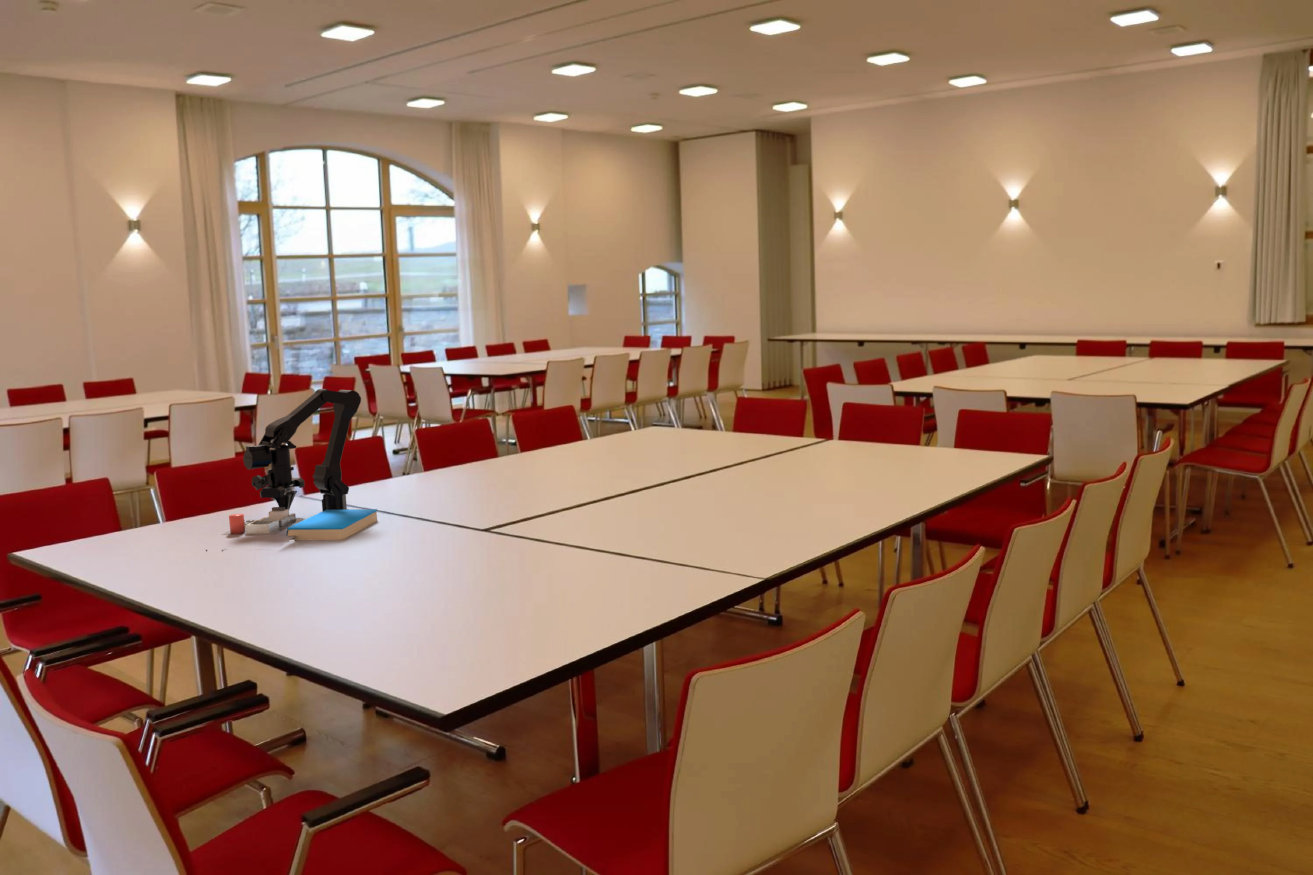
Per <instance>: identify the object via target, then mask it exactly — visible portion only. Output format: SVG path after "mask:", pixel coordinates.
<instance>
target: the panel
mask: <svg viewBox="0 0 1313 875" xmlns="http://www.w3.org/2000/svg"><path fill="white" fill-rule="evenodd" d="M301 521H303V518H297V517H296V513H295V512H294V513H289V515H288V516H286V517H284V518H282V519H280V520H269V514H268V515H266V516H265V517H262V518H260V519H247V520H245V521H244V523H245V532H243V533H238V534H231V533H230V530H229V531H226V532H225V533H222V534H221V536H234V535H235V536H236V535H237V536H238V535H241V536H242V535H276V534H278V533H280V532H282V531H284V530H285V529H287V528H288V527H291V526H293V525H295V524H297V523H299V522H301Z"/></svg>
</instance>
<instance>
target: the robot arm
mask: <svg viewBox="0 0 1313 875" xmlns="http://www.w3.org/2000/svg"><path fill="white" fill-rule="evenodd" d="M327 403H329V404H332V405H333V406H332V408H333V412H334V419H333V423H332V428H331V433H330V435H329V440H328V444H327V449H326V452H325V456H324V460H323V462H322V463H321V464H316V465H315V466H314V467H315V468H314V473H313V475H312V478H313V484H314V486H315V487H316V489H318V491H319V493H320V494H322V499H321V508H322V511H324V510H350V509H349V508H348V507H347V495H348V494H349V492H350V491H349V490H350V487H349V486H348V485H347V484H346V483H345V482H343V481H342V476H343V475H342V474H343V473H342V468H341V461H342V457H343V452H344V447H345V445H346V440H347V436H348V433H349V432H348V431H349V428H350V423H351V420H352V419H353V417H354V416H355V414H356V413H357V412H358V409H359V408H360V405H361V404H362V397H361V395H360V394H359V392H357V391H355V390H353V389H352V390H349V389H347V390H346V389H339V390H338V391H335V390H329V389H326V388H318V389H316V390H315V391H314V393H313V394H312V395H310V396H309V397H308V398H307V399H306V400H304V401H303V402H302V403H300V404H299V405H298V406H297V407H296V408H295V409H293V410H292V411H291V412H290V413H288V414H287V415H285V416H283V417H281V418H277V419H276V420H274V421H273V422H271V423H269V424H268V425H266V427H265V429H264V431H265V433H264V434H263V436H262V438H261V440H260V442H259V443H258V444H257V445H247V446H245V451H244V453H243V456H242V461H243V464H244V467H245V468H246V469H247V470H254V469H260V468H267V467H269V466H270V468H269V469H268V470H267V474H266V475H264V476H263V475H262V476H261V475H259V474H258V475H255V476H252V477H251V486H252V487H254V488H255V490H256V491H258V490H259V496H260V499H273V500H275V502H276V504H277V507H285V509H289V510H290V509H291V506H292V503H293V501H294V499H295V496H296V495H297V493H298V491H297V490H293V488H295V487H296V488H297V487H298V488H299V489H302V488H304V487H305V486H306V485H305V480H304V479H303V477H293V474H292V472H293V471H294V470H295V467H294V466H292V462H291V450H292V449H297V445H295V444H294V443H293V442H292V441H291V439H292V437H293V436H294V435H295V434H296V433H297V431H298V428H299V427H300V426H301V425H302V424H303V423H304V422H305V421H307V419H309V418H310V417H311V416H312V415H313V414H315V413H316V412H317V411H319V409H321V408H322V407H324V405H326V404H327ZM260 489H261V490H260ZM322 511H321V512H322Z"/></svg>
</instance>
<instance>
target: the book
mask: <svg viewBox="0 0 1313 875" xmlns="http://www.w3.org/2000/svg"><path fill="white" fill-rule="evenodd" d="M377 511H378V508H373V509H372V508H370V509H368V508H367V509H363V508H362V509H349V510H324V511H321V512H318V513H316V514H314V515H312V516H310V517H308V518H306V519H302V520H301V521H299V522H297V523H295V524H293V525H291V526H289V527H287V528H286V529H287V530H286V533H285V534H286V536H288V537H289V536H291V537H292V538H290V539H289V541H309V540H310V541H311V540H313V541H315V540H316V541H318V540H320V541H323V540H324V541H326V540H328V541H329V540H332V541H333V540H334V541H335V540H339V541H341V540H342V541H343V540H345V539H347V538H348V537H351V536H352V535H353V534H355V533H357V532H359V531H361V530H363V529H364V528H366V527H368V526H370V525H372V524H374V523H376V522H377V521H378V514H377V513H378V512H377ZM293 536H294V537H293Z"/></svg>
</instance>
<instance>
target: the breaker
mask: <svg viewBox="0 0 1313 875" xmlns="http://www.w3.org/2000/svg"><path fill="white" fill-rule="evenodd" d="M268 515H269V520H280V519H282V518H284V517H286V516H288V515H290V509H285V507H279V506H274V507H273V506H272V507H271V510H270V511H268Z"/></svg>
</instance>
